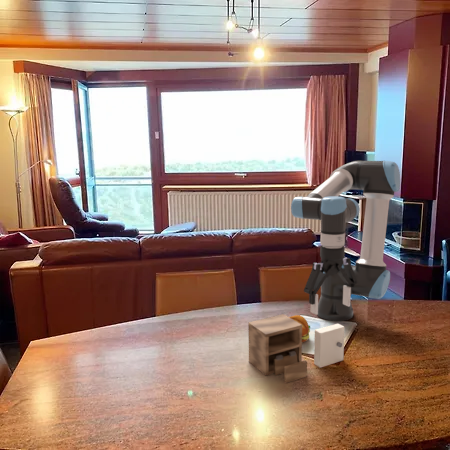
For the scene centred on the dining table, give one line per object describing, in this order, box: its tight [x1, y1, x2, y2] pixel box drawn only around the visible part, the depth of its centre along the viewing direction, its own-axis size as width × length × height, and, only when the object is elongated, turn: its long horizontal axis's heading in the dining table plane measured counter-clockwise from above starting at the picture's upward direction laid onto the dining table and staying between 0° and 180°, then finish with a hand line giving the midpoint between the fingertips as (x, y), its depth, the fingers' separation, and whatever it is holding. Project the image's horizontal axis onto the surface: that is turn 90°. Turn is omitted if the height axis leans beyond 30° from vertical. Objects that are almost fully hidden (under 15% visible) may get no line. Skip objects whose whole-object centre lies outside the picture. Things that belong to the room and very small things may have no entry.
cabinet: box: [248, 313, 308, 384], centre depth 144 cm, size 17×14×14 cm
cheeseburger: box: [288, 314, 311, 343], centre depth 164 cm, size 10×11×10 cm
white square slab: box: [313, 323, 345, 368], centre depth 146 cm, size 4×10×12 cm, turn 118°
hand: (330, 309), depth 144 cm, fingers open, 13 cm apart
